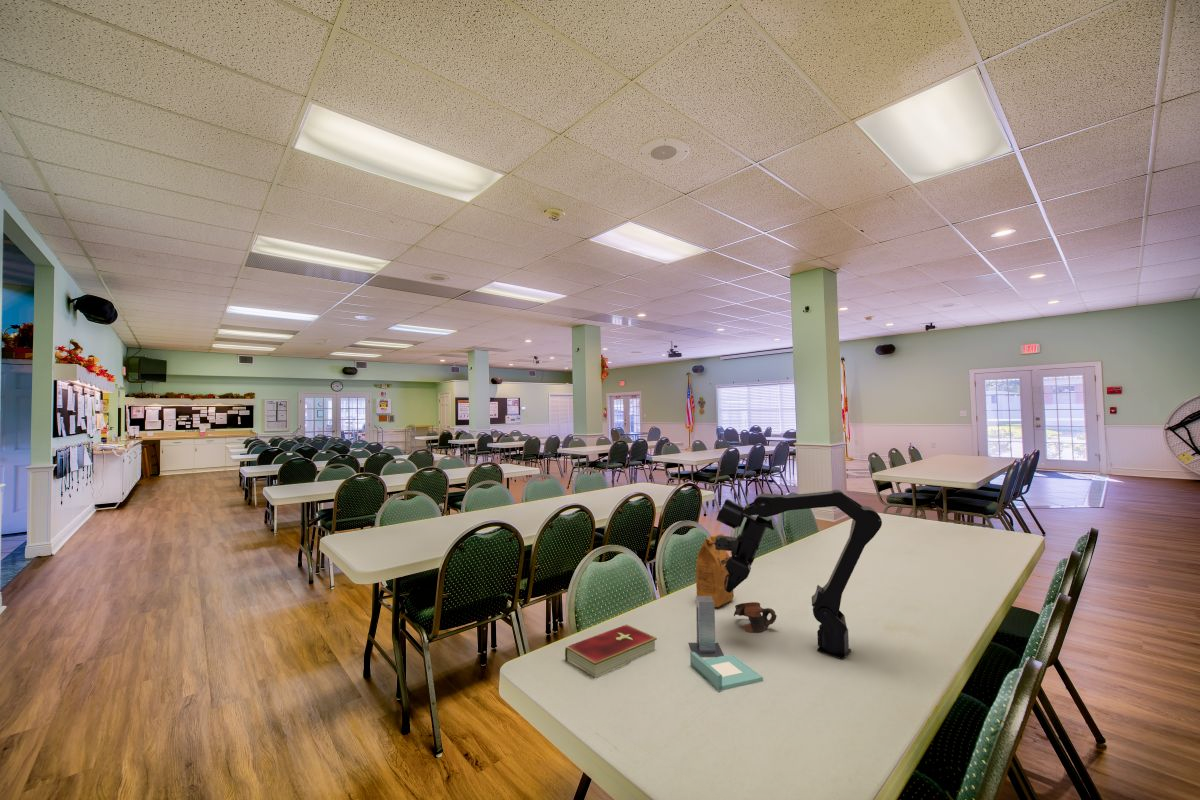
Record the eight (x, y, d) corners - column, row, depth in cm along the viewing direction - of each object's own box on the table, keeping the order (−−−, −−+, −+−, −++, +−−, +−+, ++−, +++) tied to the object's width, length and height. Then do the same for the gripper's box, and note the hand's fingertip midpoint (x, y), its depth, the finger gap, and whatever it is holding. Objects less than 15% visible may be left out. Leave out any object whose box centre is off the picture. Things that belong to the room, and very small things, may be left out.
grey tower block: (711, 645, 130) (710, 596, 131) (715, 653, 126) (714, 602, 127) (696, 645, 130) (695, 595, 131) (699, 653, 126) (698, 602, 127)
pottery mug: (735, 634, 139) (729, 604, 144) (741, 638, 146) (735, 608, 151) (778, 629, 135) (770, 597, 140) (782, 633, 143) (775, 603, 147)
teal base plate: (732, 658, 124) (731, 644, 124) (763, 682, 113) (762, 666, 113) (690, 667, 120) (690, 652, 120) (718, 692, 108) (718, 675, 109)
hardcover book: (565, 662, 124) (564, 645, 124) (625, 638, 137) (625, 622, 138) (595, 680, 115) (595, 662, 115) (657, 653, 128) (656, 636, 128)
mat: (717, 644, 132) (717, 642, 132) (724, 658, 124) (724, 656, 124) (688, 644, 132) (688, 642, 132) (693, 658, 124) (693, 656, 124)
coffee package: (738, 601, 163) (737, 534, 164) (718, 611, 155) (716, 541, 156) (713, 594, 171) (712, 530, 172) (692, 603, 162) (691, 536, 163)
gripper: (728, 517, 148) (709, 564, 150) (718, 530, 131) (696, 582, 132) (764, 534, 144) (744, 582, 145) (759, 549, 127) (736, 603, 128)
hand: (730, 586), depth 138 cm, fingers open, 9 cm apart
